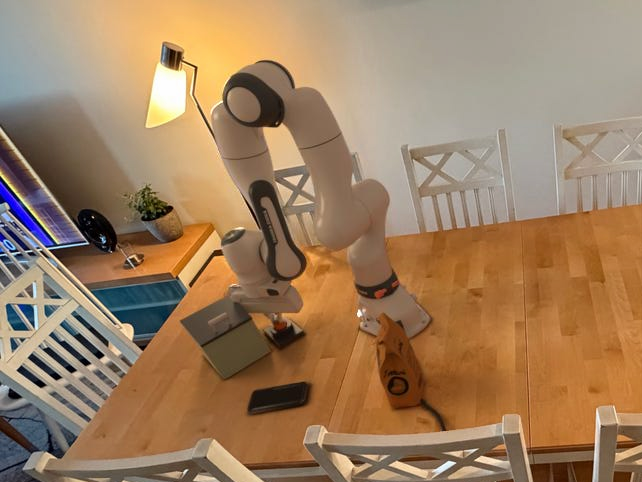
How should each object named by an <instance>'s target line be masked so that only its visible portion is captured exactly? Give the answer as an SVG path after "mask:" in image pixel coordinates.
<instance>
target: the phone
mask: <svg viewBox="0 0 642 482" xmlns="http://www.w3.org/2000/svg"><path fill="white" fill-rule="evenodd" d="M308 391H309V384H308V383H307V381H299V382H298V381H297V382H292V383H287V384H286V383H285V384H281V385H275V386H274V385H273V386H269V387H263V388H258V389H255V390H253V391H252V393H251V395H250V398H249V402H248V404H247V408H246V410H247V412H249V414H250V415H254V414H259V413H265V412H273V411H278V410H282V409H289V408H294V407H300V406H303V405H305V403H306V401H307V397H308V396H307V395H308Z"/></svg>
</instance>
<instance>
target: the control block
mask: <svg viewBox="0 0 642 482" xmlns="http://www.w3.org/2000/svg"><path fill="white" fill-rule="evenodd" d="M282 318H283V320H285V322H286V324H287V326H286V327H285V328H283V329H282V330H275V328H274V327H273V323H271V324H270V325H269V326H267V327H264V328H263V329H262V331H263V333H264V334H265V335H266V336H267V337H268V338H269V339H270V340H271V341H272V342H273V343H274V344H275V345H276V346H278V347H279V349H280V350H283V349H284V348H285V347H287V346H288V345H291V344H292V343H294V342H295V341H297V340H299V339H300V338H302V337H303V336H305V333H304V330H303V329H301V328H300V327H299V326H298V325H297V324H295V323H294V322H293V321H292V320H291V319H290V318H288V317H287V316H284V317H282Z"/></svg>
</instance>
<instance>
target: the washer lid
mask: <svg viewBox="0 0 642 482" xmlns="http://www.w3.org/2000/svg"><path fill="white" fill-rule="evenodd" d="M252 319H253V317H252V316H251V315H250V313H247V312H246V311H245V310H244V309H243V308H241V307H240V306H239V305H238V304H237V303H236V302H233V300H232V298H231V297H230V296H229V295H227V296H225V297H224V296H223V297H222V298H219V299H218V300H215V301H213V302H212V303H210V304H208V305H207V306H206V305H205V306H204V307H202V308H201V309H199V310H197V311H195V312H193V313H191V314H189V315H188V316H186V317H184V318H182V319H179V323H180V324H181V326H182V327H183V326H184V327H185V328H184V327H183V328H184V330H185V329H186V330H187V331H188V332H189V333H190V334H191V336H192V337H193V338H194V339H195V340H196V341H197V343H198V344H199V345H200V346H201V347H204V346H206V345H208V344H209V343H211V342H213V341H215V340H216V339H218V338H220V337H222V336H224V335H225V334H227V333H229V332H231V331H232V330H234V329H236V328H238V327H239V326H241V325H243V324H245V323H247V322H248V321H250V320H252ZM186 330H185V331H186ZM187 331H186V332H187ZM188 332H187V333H188Z"/></svg>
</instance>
